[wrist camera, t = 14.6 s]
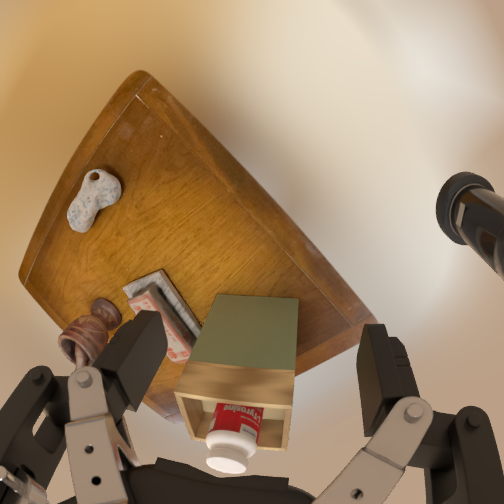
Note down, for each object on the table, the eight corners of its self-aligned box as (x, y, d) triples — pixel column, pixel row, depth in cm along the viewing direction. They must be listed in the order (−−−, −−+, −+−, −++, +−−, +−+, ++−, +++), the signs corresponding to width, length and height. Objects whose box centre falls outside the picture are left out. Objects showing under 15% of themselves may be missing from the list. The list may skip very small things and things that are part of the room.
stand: (298, 298, 49) (295, 369, 35) (295, 349, 54) (289, 420, 40) (217, 293, 51) (187, 359, 37) (223, 344, 56) (200, 410, 42)
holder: (295, 369, 35) (292, 405, 30) (289, 420, 40) (286, 451, 35) (187, 359, 37) (173, 391, 32) (200, 410, 42) (190, 439, 37)
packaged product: (209, 361, 52) (168, 369, 55) (215, 343, 56) (176, 353, 59) (150, 281, 46) (112, 298, 49) (162, 266, 51) (124, 284, 54)
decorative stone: (97, 238, 50) (81, 250, 46) (73, 214, 49) (56, 224, 45) (130, 184, 45) (113, 193, 41) (103, 159, 44) (85, 165, 39)
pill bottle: (272, 393, 36) (261, 466, 27) (255, 414, 39) (242, 480, 29) (228, 376, 36) (207, 449, 26) (214, 400, 39) (193, 465, 29)
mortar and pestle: (141, 332, 58) (96, 403, 41) (119, 344, 62) (76, 408, 44) (104, 290, 55) (46, 354, 38) (85, 305, 58) (32, 364, 41)
